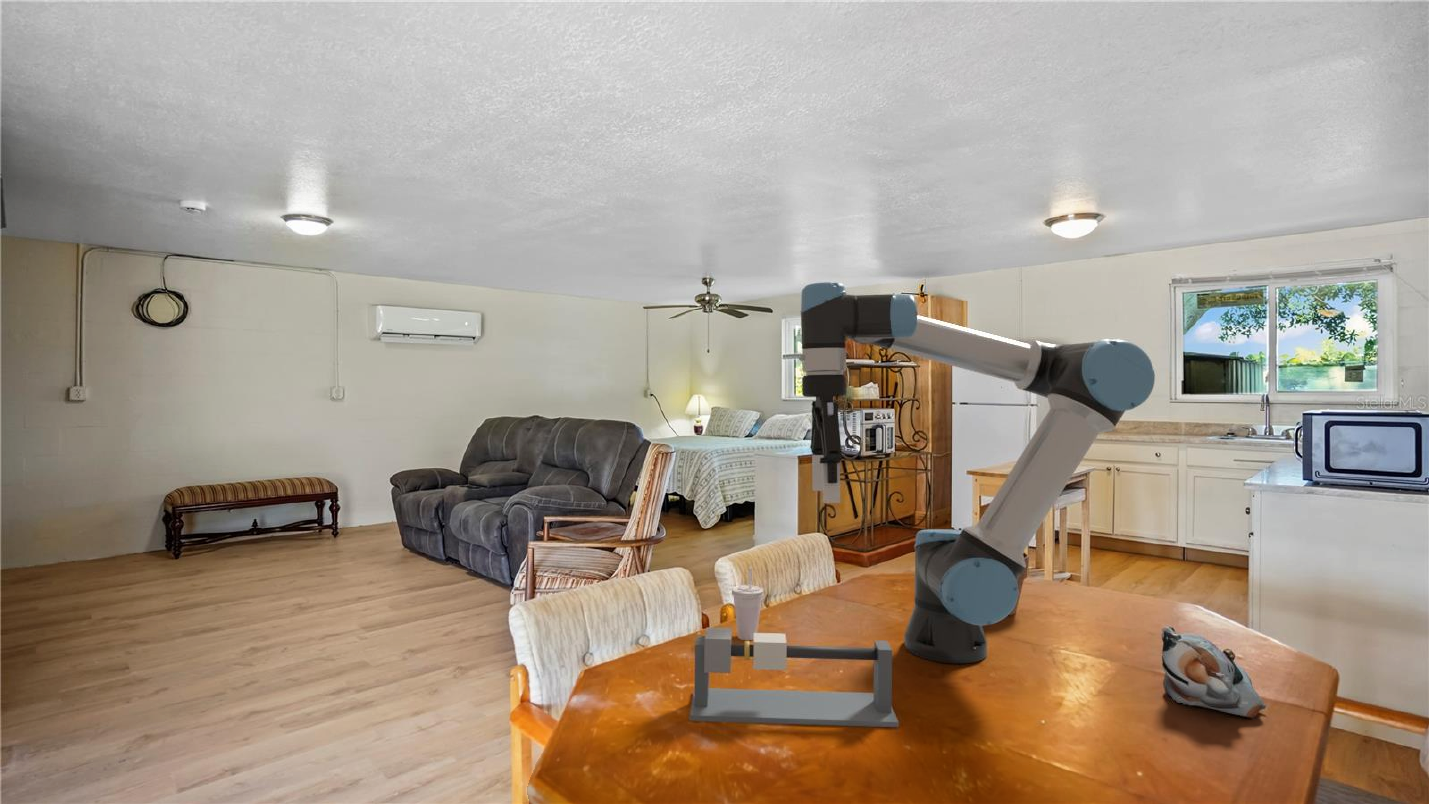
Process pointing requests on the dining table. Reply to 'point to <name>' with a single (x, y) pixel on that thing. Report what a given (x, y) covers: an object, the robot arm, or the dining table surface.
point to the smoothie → (747, 608)
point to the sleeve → (769, 651)
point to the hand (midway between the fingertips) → (825, 496)
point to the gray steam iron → (1206, 675)
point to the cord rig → (790, 704)
